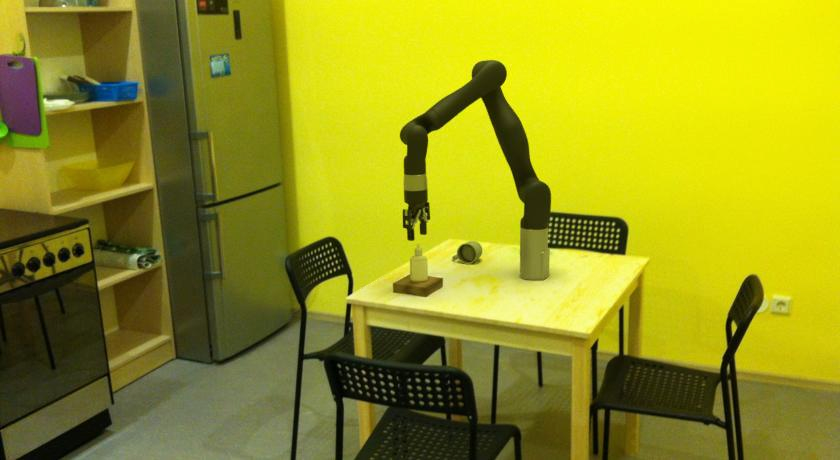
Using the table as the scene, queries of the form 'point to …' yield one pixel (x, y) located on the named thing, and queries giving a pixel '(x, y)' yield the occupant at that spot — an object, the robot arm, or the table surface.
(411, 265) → the squeeze bottle
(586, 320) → the table surface
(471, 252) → the ceramic mug
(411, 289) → the walnut plinth
